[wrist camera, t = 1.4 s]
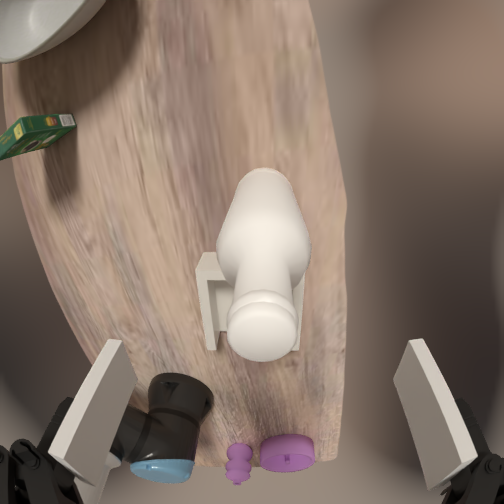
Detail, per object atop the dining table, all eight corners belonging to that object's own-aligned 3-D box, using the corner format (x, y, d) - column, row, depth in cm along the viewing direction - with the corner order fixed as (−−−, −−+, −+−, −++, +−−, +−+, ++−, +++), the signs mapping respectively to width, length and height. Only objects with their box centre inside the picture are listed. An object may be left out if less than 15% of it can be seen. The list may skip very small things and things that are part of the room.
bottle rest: (296, 327, 51) (298, 350, 46) (212, 327, 52) (207, 349, 47) (300, 251, 45) (305, 270, 40) (203, 252, 46) (195, 270, 40)
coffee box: (74, 110, 36) (19, 115, 24) (79, 125, 37) (24, 134, 26) (42, 134, 38) (-11, 146, 26) (47, 148, 39) (-6, 163, 27)
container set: (314, 431, 68) (318, 472, 56) (311, 453, 74) (314, 488, 62) (223, 434, 69) (218, 474, 57) (231, 455, 76) (227, 490, 64)
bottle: (290, 221, 43) (324, 389, 16) (236, 219, 43) (192, 384, 16) (293, 167, 40) (354, 274, 13) (237, 165, 40) (177, 266, 13)
